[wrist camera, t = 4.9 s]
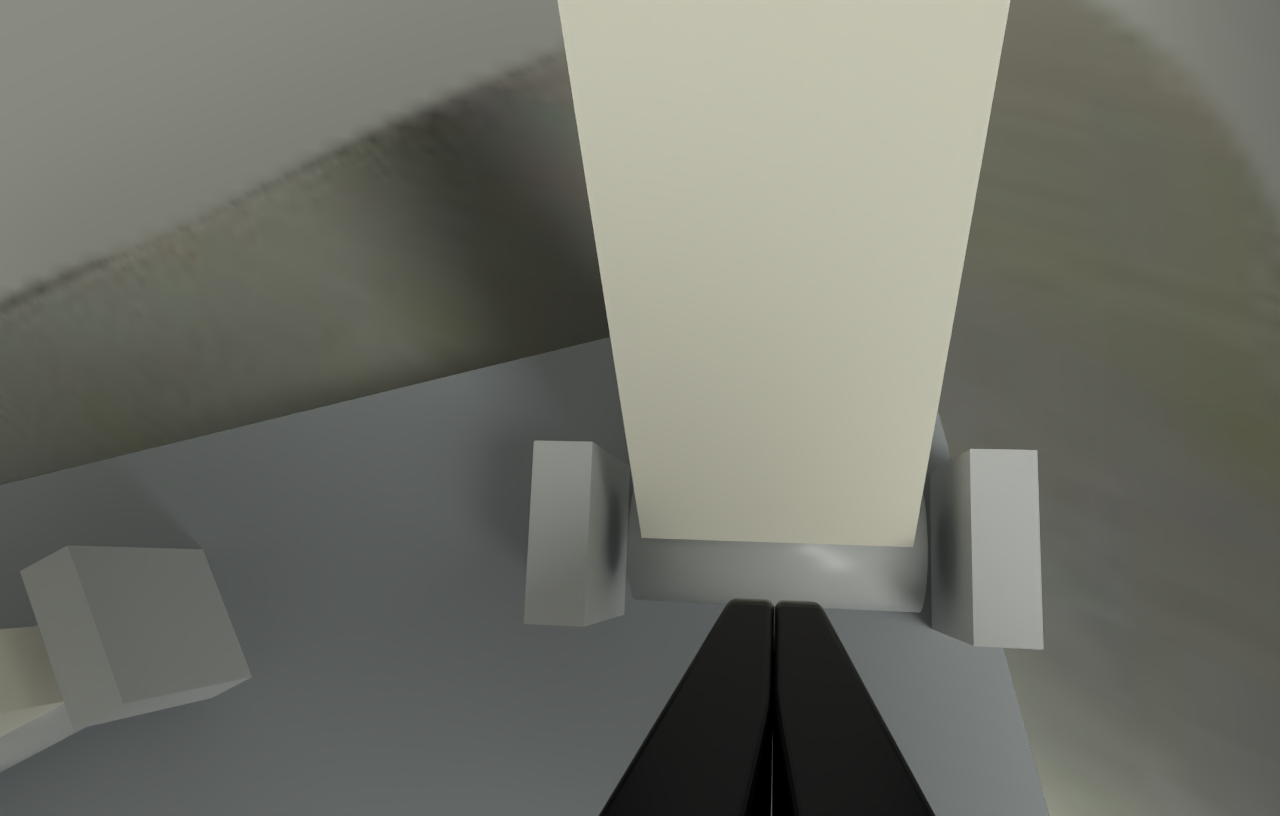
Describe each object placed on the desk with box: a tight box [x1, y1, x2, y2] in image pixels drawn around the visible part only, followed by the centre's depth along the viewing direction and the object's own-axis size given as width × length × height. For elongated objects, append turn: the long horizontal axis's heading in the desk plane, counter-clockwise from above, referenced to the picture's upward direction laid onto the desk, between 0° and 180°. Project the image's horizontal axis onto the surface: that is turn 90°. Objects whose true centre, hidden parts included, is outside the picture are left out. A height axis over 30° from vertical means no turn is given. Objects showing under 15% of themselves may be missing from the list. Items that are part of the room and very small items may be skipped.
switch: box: [558, 0, 1010, 612], centre depth 10 cm, size 2×4×12 cm
